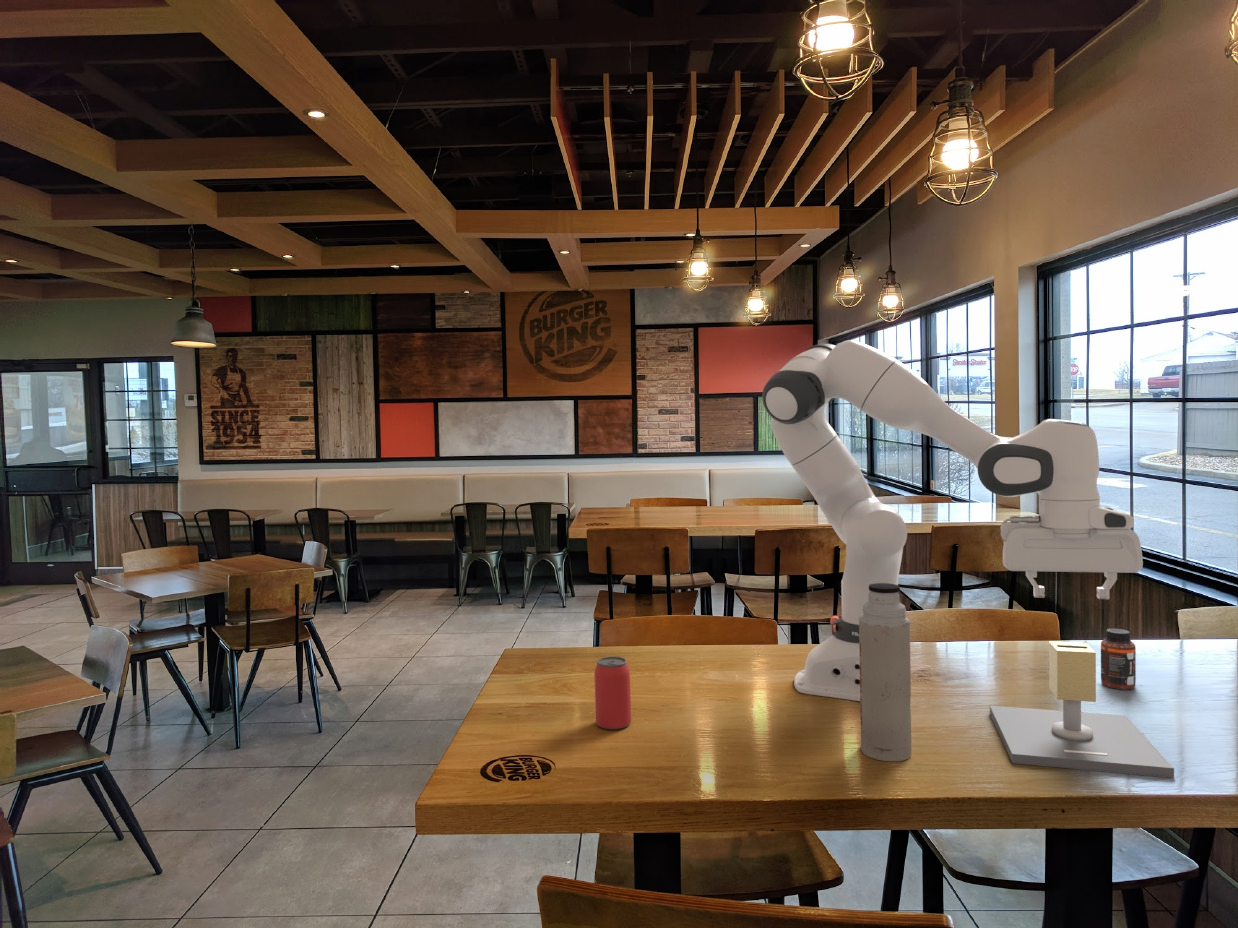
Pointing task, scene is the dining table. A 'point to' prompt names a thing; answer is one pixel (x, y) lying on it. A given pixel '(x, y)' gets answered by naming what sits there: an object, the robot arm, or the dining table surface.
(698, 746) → the dining table surface
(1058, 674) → the brushed gold block
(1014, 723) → the stud plate
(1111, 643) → the supplement bottle
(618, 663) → the beer can
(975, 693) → the dining table surface
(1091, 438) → the robot arm
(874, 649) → the thermos bottle
